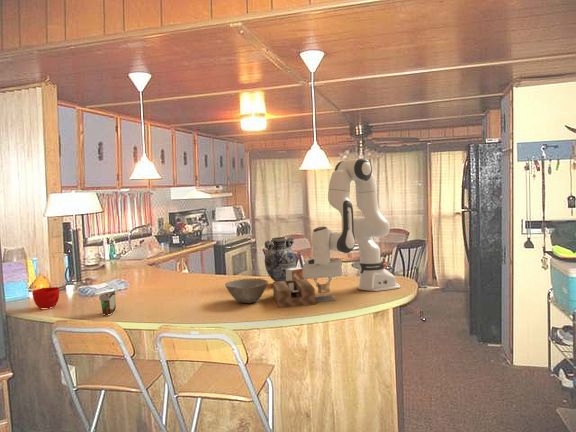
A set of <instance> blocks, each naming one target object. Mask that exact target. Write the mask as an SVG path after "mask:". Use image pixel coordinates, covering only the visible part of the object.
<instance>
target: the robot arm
mask: <svg viewBox="0 0 576 432" xmlns="http://www.w3.org/2000/svg"><path fill="white" fill-rule="evenodd" d="M331 173H332V174H331V176H330V179H329V182H328V183H329V184H328V190H327V191H328V192H327V201H328V203H329V205H330V206H331V207H332V208H334V209H335V210H337V211H338V212H339V213H340V217H341V231H340V232H338V231H334V230H331V229H329V228H328V227H327V226H318V227H315V228H314V229H312V233H311V247H312V255H311V256H309V257H306V258H304V259H303V263H304V264H303V265H302V268H303V270H302V276H303V278H304V279H307V280H310V279H313V281H314V282H315V287H316V288H318V287H319V285H320V282H318V279H324V278H328V281H326V283H325V284H328V283H329V287H330V286H331V281H332V279H333V278H335V277H336V278H337V277H342V276H343V267H342V265H343V261H342V258H339V257H336V258H335V257H333V258H331V251H333V252H340V253H343V254H349V253H351V252H352V251H353V250H354V248H355V246H356V244H357V247H358V250H359V252H358V253H359V263H358V265H359V266H358V268H359V274H360V275H359V283H358V286H357V288H358V289H359V290H362V291H369V292H370V291H371V292H382V291H389V290H396V289H400V288H401V285H400V284H399V283H398V282H397V280H396V277H395V275H394V274H393V273H391V272H390V271H389V270H387V269H386V267H387V266H388V264H387V263H386V262H383V261H381V248H380V246H379V245H378V244H377V243H376V242H375V240H374V238H383V237H386V236H387V235H388V234H389V233H390V230H391V224H390V222H389V220H388V219H386V217H384V215H383V214H382V211H381V210H380V207H379V203H378V195H377V186H376V180H375V176H374V173H373V166H372V164H371V162H370V161H369V160H368V159H365V158H352V159H348V160H341V161H339V162H338V163H337V164H336V165H335V167H334V171H332V172H331ZM352 181H354V183H355V185H354V186H355V199H356V200H355V202H356V207H357V208H358V210H360V211H361V212H362V215H363V216H357V217H354V206H353V204H352V202H351V197H350V193H351V183H352Z"/></svg>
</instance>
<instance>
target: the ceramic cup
mask: <svg viewBox="0 0 576 432" xmlns="http://www.w3.org/2000/svg"><path fill="white" fill-rule="evenodd" d="M59 297H60V288H59V287H57V286H51V287H42V288H37V289H33V291H32V298H33V302H34V304H35V305H36V306H37V307H38V308H39V309H40V308H50V307H53V306H54V307H56V305H57V304H58V302H59V299H60V298H59Z"/></svg>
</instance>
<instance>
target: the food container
mask: <svg viewBox="0 0 576 432" xmlns="http://www.w3.org/2000/svg"><path fill="white" fill-rule="evenodd" d="M98 299H99V301H100V304H101V305H100V306H101V310H102V315H103V314H105V315H108V314H111V313H113V312H114V311H115V309H116V310H117V307H116V306H117V305H116V304H117V303H116V291H115V290H114V291H113V290H112V291H107V292H102V293H100V294H99V298H98ZM115 312H116V311H115ZM115 312H114V313H115ZM114 313H113V314H114Z"/></svg>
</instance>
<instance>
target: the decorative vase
mask: <svg viewBox="0 0 576 432" xmlns="http://www.w3.org/2000/svg"><path fill="white" fill-rule="evenodd" d="M294 242H295V239H294V237H293V236H289V237H287V238H286V237H285V236H282V237H281V236H280V237H272V238H271V240H269V239H268V240H266V241H265V242H264V248H265V249H267V251H266V253H265V254H264V267H265V270H266V272H267V275H268V277H270V278H271V280H273V282H278V281H286V269H290V268H296V267H297V257H296V254H295V252H294V251H293V247H292V246H293V244H294Z"/></svg>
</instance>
